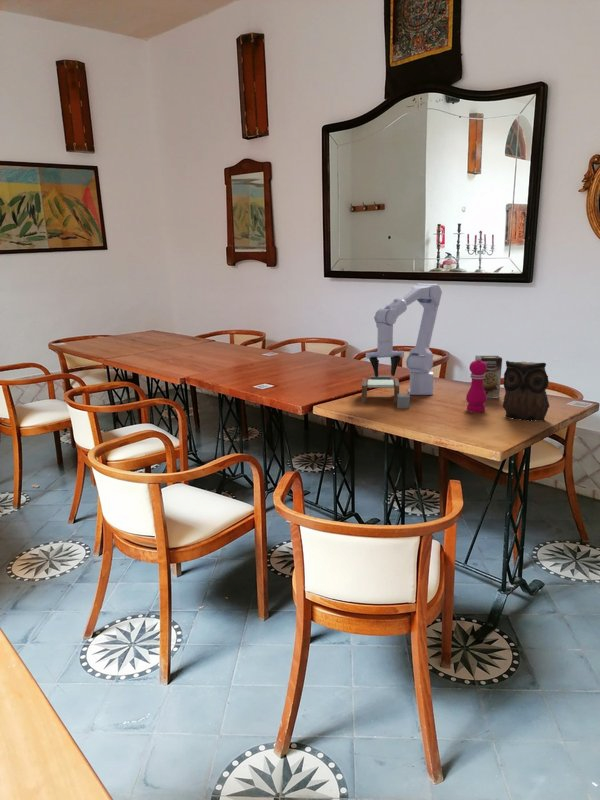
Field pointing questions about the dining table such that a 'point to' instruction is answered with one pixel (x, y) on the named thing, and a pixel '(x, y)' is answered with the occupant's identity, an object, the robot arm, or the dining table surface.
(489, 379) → the coffee box
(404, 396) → the grey cube
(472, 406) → the pepper mill
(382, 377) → the trapdoor
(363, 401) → the frame
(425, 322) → the robot arm
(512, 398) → the owl
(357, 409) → the dining table surface
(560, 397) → the dining table surface
